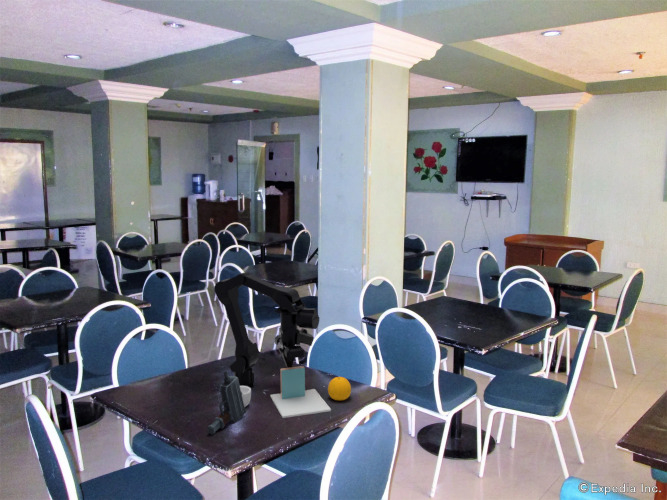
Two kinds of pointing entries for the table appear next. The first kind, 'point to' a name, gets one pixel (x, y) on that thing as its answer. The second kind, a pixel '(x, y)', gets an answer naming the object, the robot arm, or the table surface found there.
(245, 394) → the teacup
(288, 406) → the mat
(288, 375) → the tile
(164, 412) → the table surface
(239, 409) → the gun
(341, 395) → the orange
